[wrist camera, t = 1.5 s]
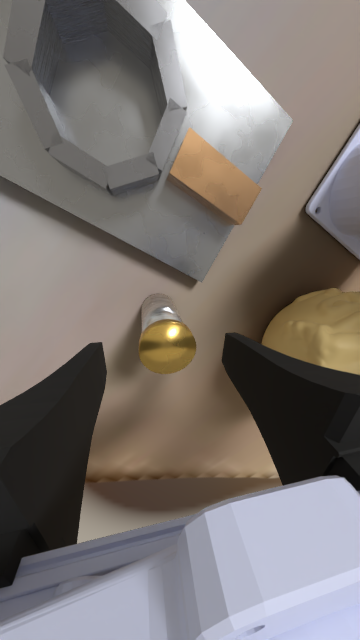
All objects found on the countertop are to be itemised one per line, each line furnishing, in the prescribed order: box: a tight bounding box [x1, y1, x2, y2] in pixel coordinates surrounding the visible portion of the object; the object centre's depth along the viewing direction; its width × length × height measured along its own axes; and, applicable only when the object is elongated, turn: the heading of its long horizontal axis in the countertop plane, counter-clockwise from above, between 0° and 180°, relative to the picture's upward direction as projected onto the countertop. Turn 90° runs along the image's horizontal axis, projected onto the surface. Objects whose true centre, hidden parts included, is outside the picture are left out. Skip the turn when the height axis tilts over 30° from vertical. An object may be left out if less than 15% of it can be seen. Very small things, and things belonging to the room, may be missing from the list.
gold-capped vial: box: [139, 294, 196, 374], centre depth 14 cm, size 3×3×7 cm
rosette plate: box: [0, 0, 293, 282], centre depth 11 cm, size 16×12×3 cm
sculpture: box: [262, 288, 360, 375], centre depth 17 cm, size 11×12×11 cm
